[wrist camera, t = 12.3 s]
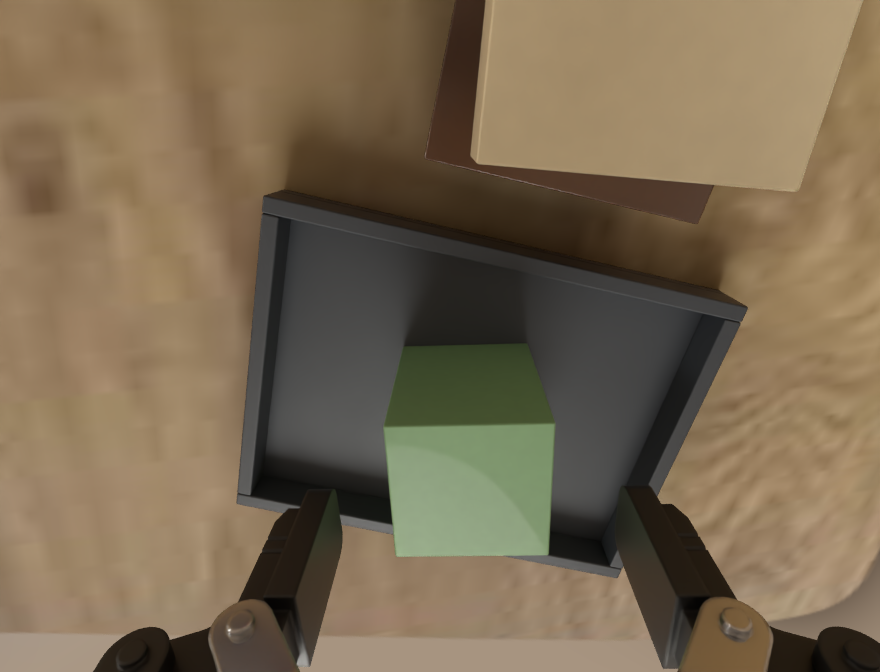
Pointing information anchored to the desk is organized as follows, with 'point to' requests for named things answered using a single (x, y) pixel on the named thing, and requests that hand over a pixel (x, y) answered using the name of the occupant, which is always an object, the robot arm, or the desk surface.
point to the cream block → (659, 87)
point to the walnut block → (454, 148)
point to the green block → (469, 452)
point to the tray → (465, 323)
